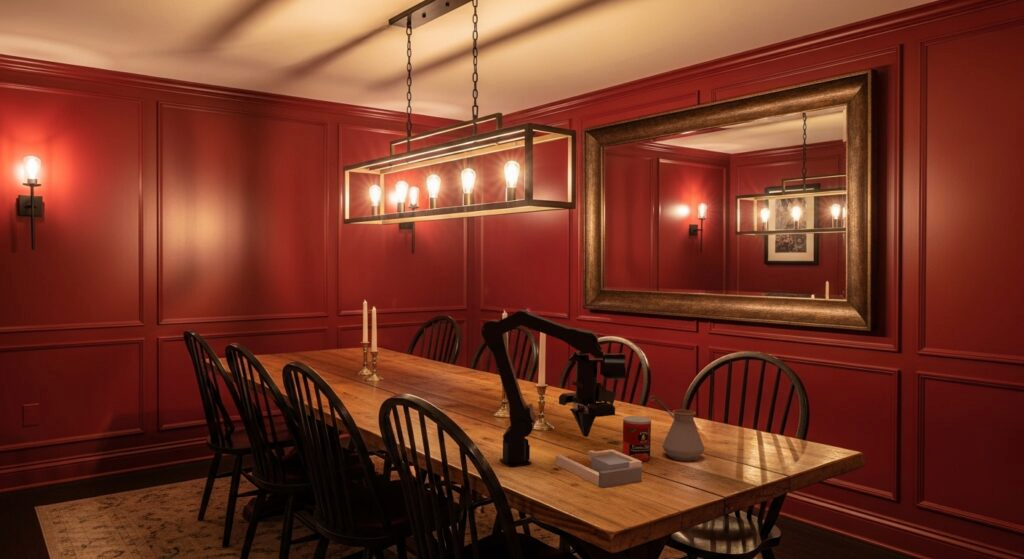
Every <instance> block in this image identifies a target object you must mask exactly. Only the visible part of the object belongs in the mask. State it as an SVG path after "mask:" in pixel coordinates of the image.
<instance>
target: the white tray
mask: <svg viewBox="0 0 1024 559" xmlns="http://www.w3.org/2000/svg"><path fill="white" fill-rule="evenodd" d="M606 454H612V455H614V456H617V457H619V458H621V459H624V460H626V461H629V462H630V463H629V467H626V468H620V469H613V470H607V471H601V472H599V473H598V472H596V471H594V470H592V469H591V467H589V466H588V467H587V466H585V465H583V464H581V463H580V462H576V460H575V461H574V460H572V459H571V458H569V457H566V456H564V455H561V454H556V455H555V465H556V467H557V466H558V467H560V468H562V469H564V470H566V471H568V472H569V473H572V474H574V475H575V476H577V477H580V478H582V479H584V480H586V481H588V482H590V483H592V484H593V485H596V486H598V487H600V488H602V489H603V488H609V487H614V486H615V487H616V486H621V485H622V486H623V485H627V484H632V483H638V482H639V483H640V482H643V481H642V480H643V479H642V478H643V477H642V476H643V465H642V462H643V461H640V460H637V459H635V458H632V457H630V456H627V455H625V454H623V452H620V451H617V450H615V449H612V448H611V449H605V450H599V451H595V450H593V449H592V450H588V451H587V461H589V462H591V457H592V456H599V455H606Z"/></svg>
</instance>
